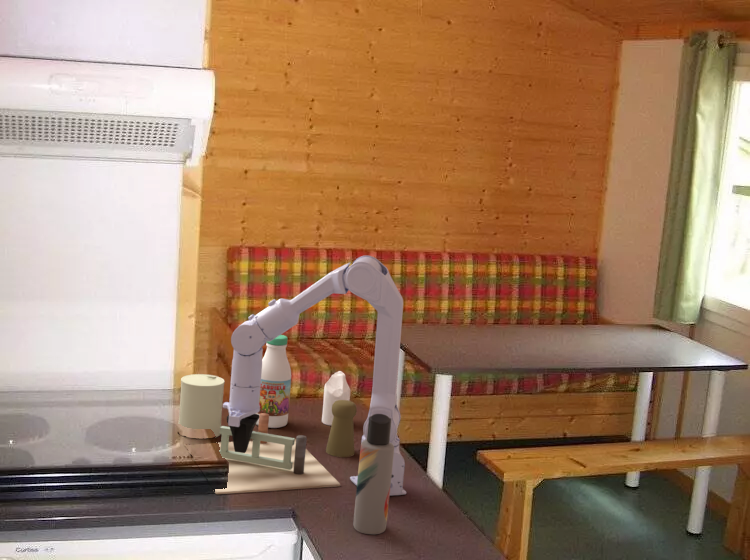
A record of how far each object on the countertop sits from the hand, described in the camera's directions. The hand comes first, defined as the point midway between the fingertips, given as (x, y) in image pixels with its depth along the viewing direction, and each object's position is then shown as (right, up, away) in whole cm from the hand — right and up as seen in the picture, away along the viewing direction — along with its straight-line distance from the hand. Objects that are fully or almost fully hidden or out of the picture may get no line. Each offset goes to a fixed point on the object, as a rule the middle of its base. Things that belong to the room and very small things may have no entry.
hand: (240, 451), depth 194 cm
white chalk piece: (+17, 0, +35) cm, 39 cm away
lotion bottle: (+25, -10, -22) cm, 34 cm away
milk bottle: (+3, +1, +30) cm, 30 cm away
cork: (+19, -3, +15) cm, 24 cm away
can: (-11, +1, +19) cm, 22 cm away
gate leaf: (+3, -2, +2) cm, 4 cm away
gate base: (+3, -3, +3) cm, 6 cm away
